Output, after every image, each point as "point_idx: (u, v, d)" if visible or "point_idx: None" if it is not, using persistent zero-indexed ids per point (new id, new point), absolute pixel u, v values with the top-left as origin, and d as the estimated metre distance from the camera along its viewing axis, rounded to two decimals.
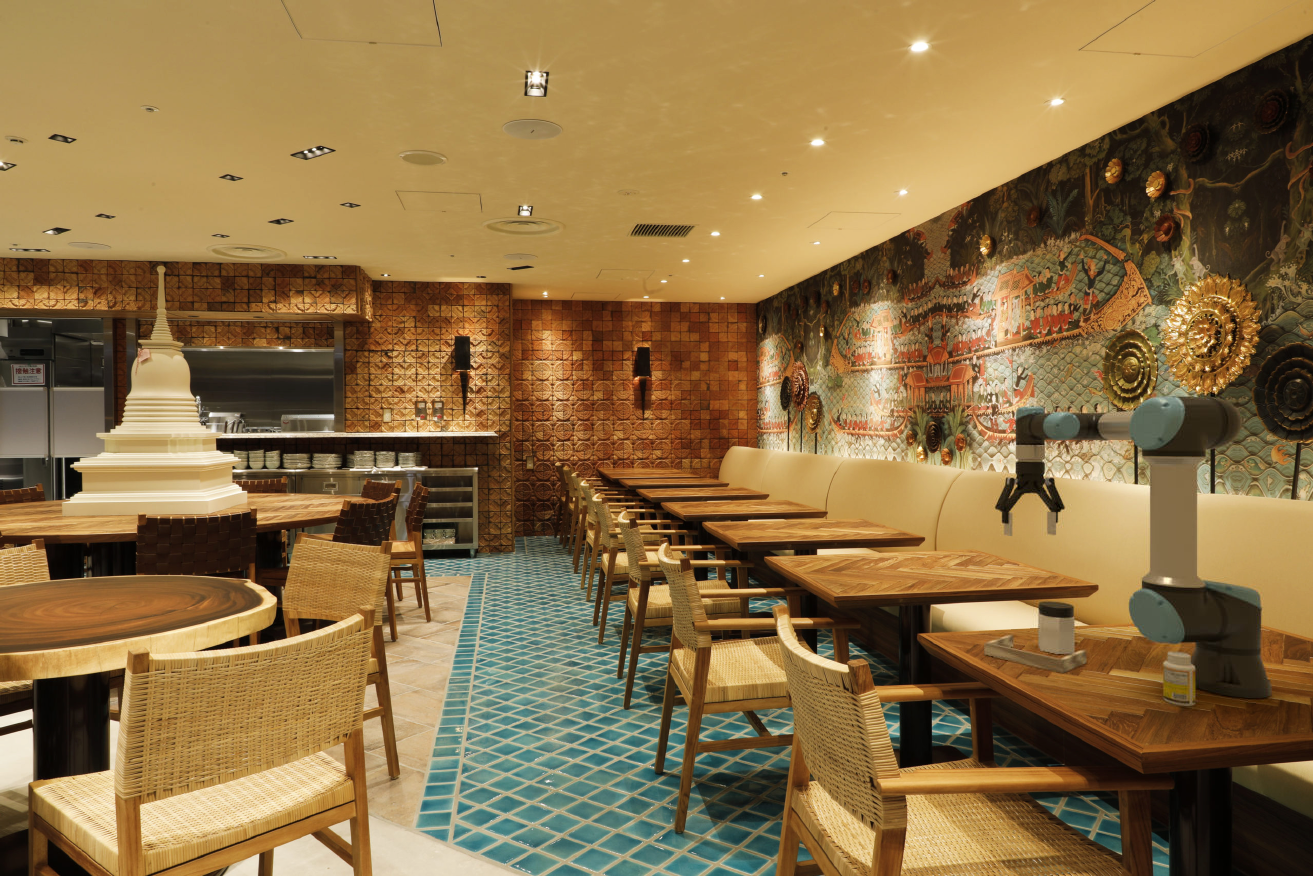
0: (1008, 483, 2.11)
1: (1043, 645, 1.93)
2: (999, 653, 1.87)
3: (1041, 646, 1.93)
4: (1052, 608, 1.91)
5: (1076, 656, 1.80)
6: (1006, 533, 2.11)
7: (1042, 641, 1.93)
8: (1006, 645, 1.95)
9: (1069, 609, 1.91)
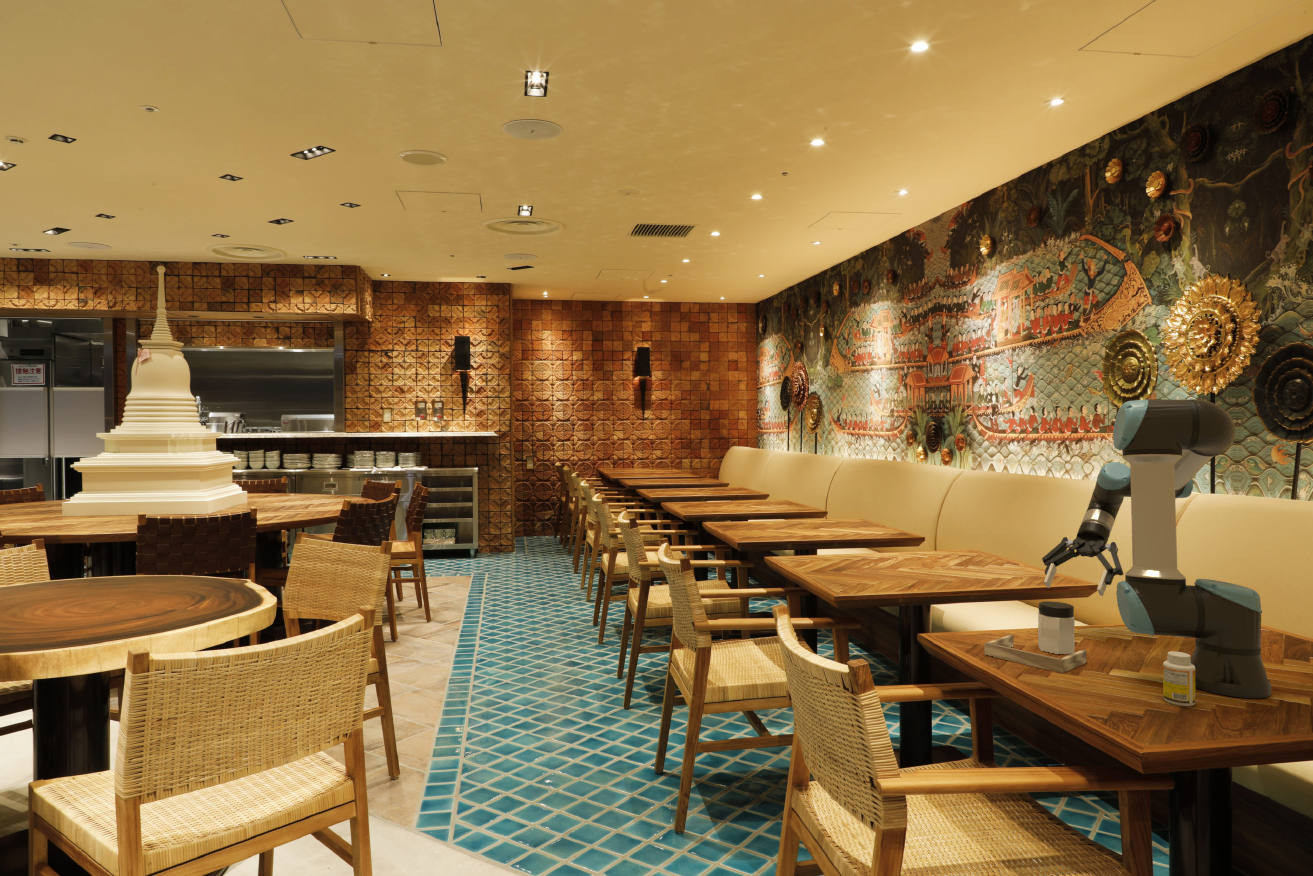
0: None
1: (1043, 645, 1.93)
2: (999, 653, 1.87)
3: (1041, 646, 1.93)
4: (1052, 608, 1.91)
5: (1076, 656, 1.80)
6: None
7: (1042, 641, 1.93)
8: (1006, 645, 1.95)
9: (1069, 609, 1.91)
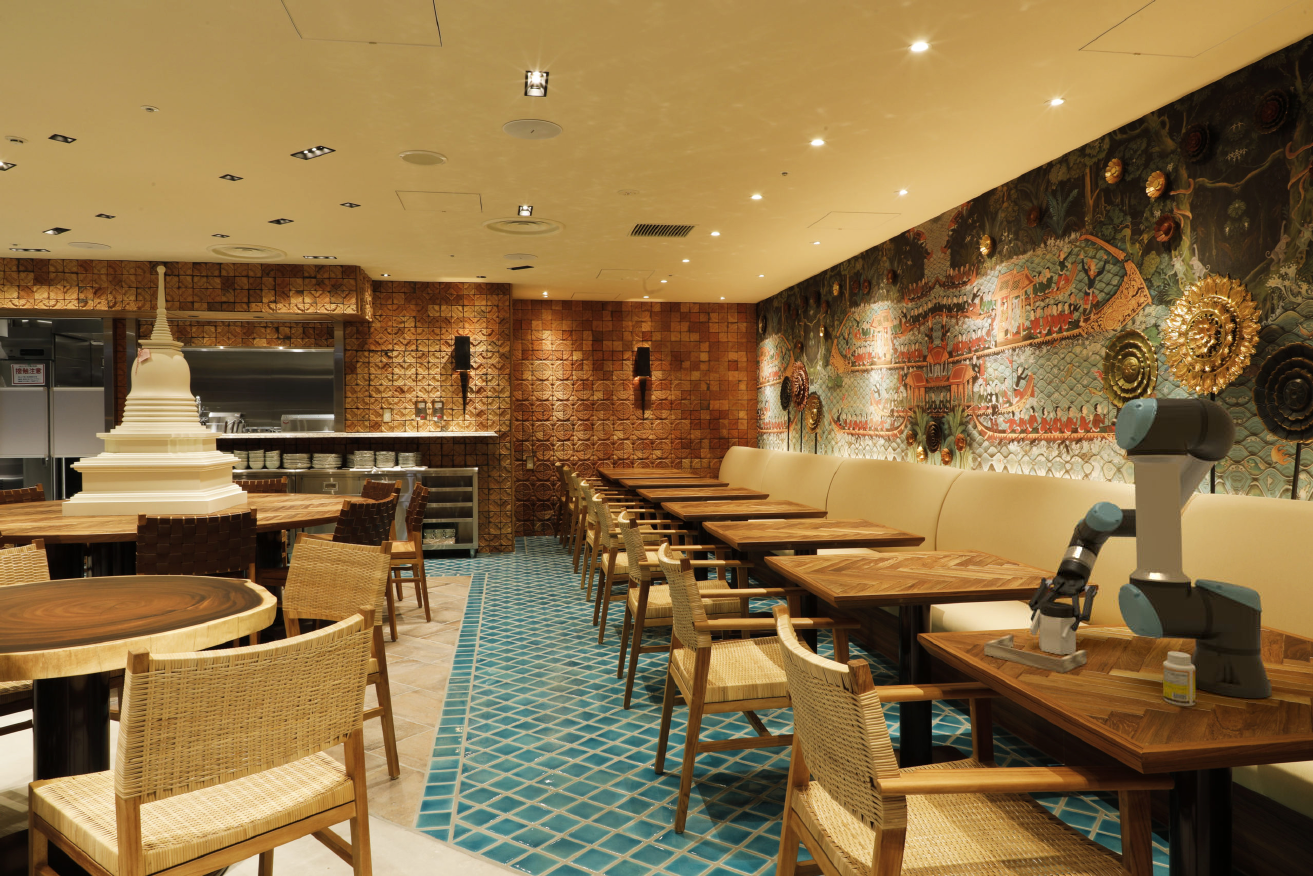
0: None
1: (1044, 645, 1.93)
2: (999, 653, 1.87)
3: (1042, 646, 1.93)
4: (1053, 608, 1.91)
5: (1076, 656, 1.80)
6: None
7: (1043, 641, 1.93)
8: (1006, 645, 1.95)
9: (1070, 609, 1.90)
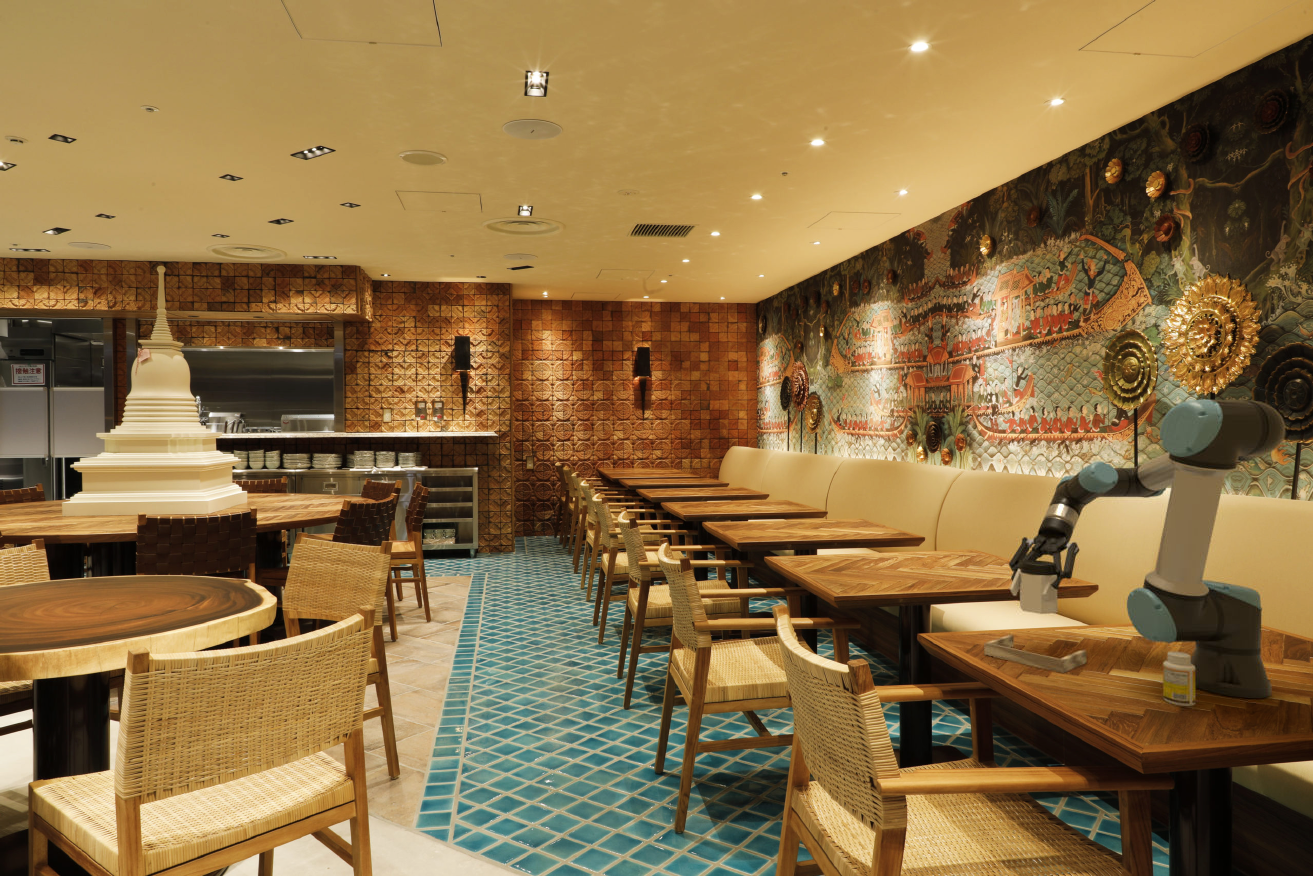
0: None
1: (1025, 604, 1.85)
2: (999, 653, 1.87)
3: (1023, 606, 1.86)
4: (1034, 565, 1.84)
5: (1076, 656, 1.80)
6: None
7: (1024, 600, 1.85)
8: (1006, 645, 1.95)
9: (1051, 566, 1.83)
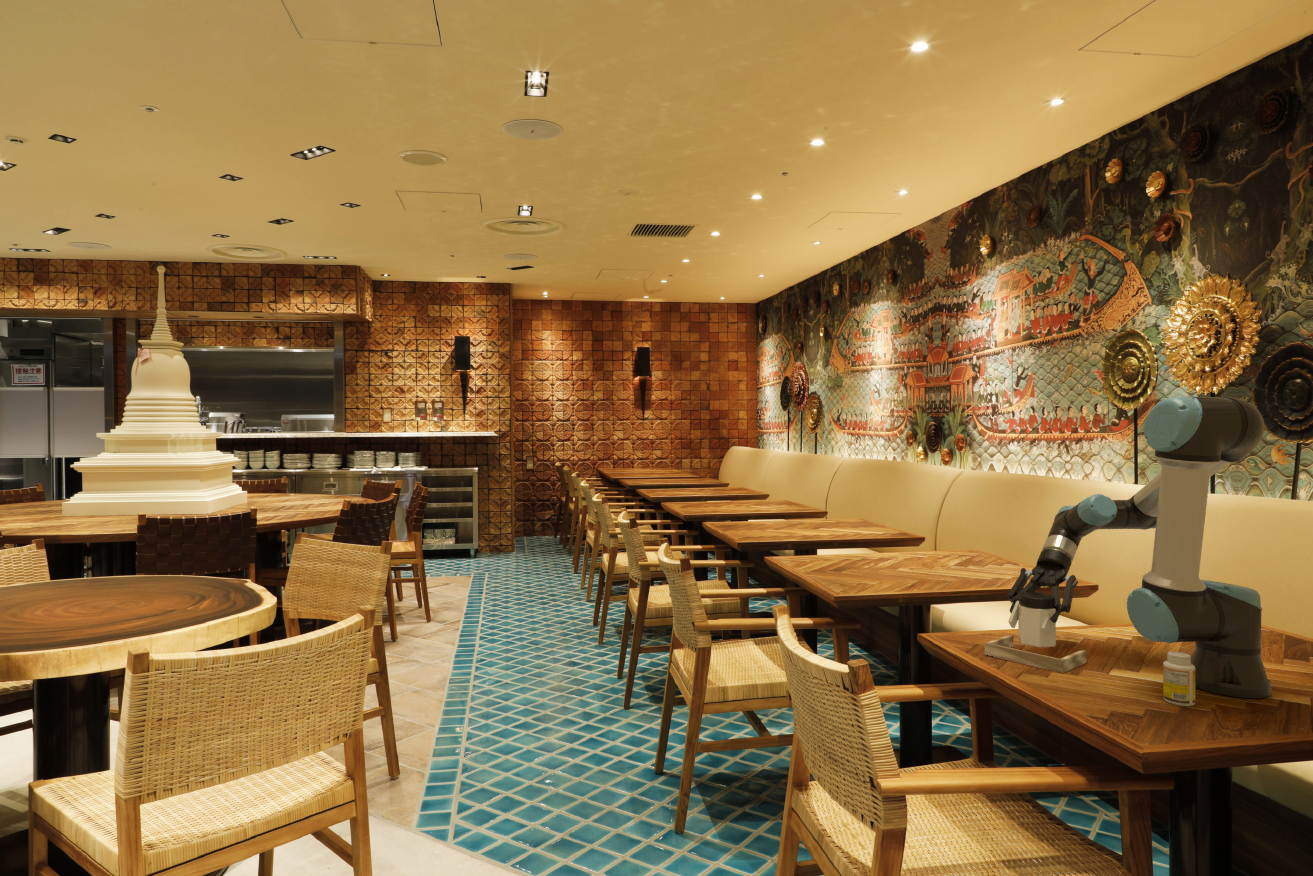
0: None
1: (1023, 638, 1.85)
2: (999, 653, 1.87)
3: (1021, 639, 1.86)
4: (1033, 599, 1.84)
5: (1076, 656, 1.80)
6: None
7: (1022, 633, 1.86)
8: (1006, 645, 1.95)
9: (1050, 600, 1.83)
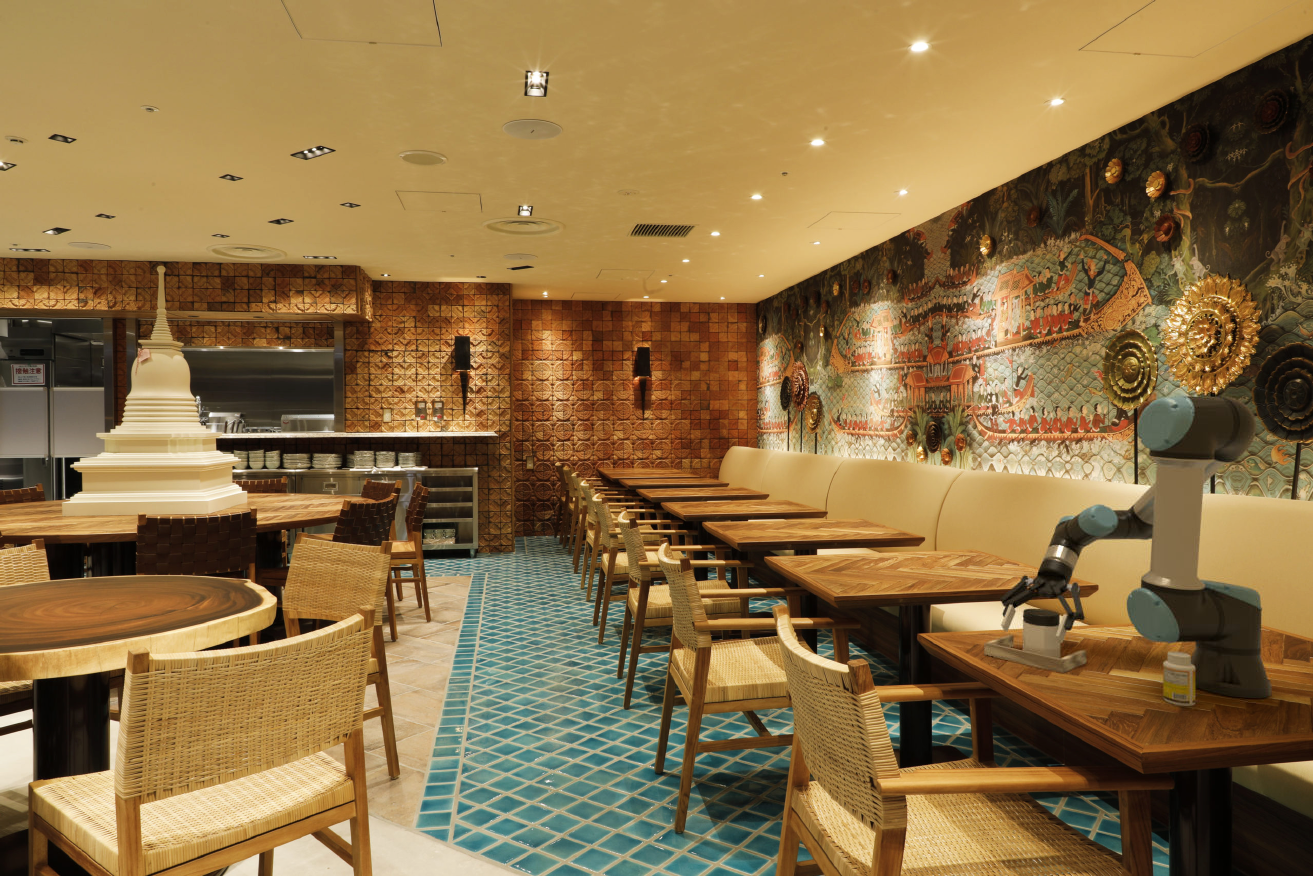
0: None
1: None
2: (999, 653, 1.87)
3: None
4: (1037, 616, 1.83)
5: (1076, 656, 1.80)
6: None
7: (1027, 650, 1.85)
8: (1006, 645, 1.95)
9: (1054, 617, 1.82)
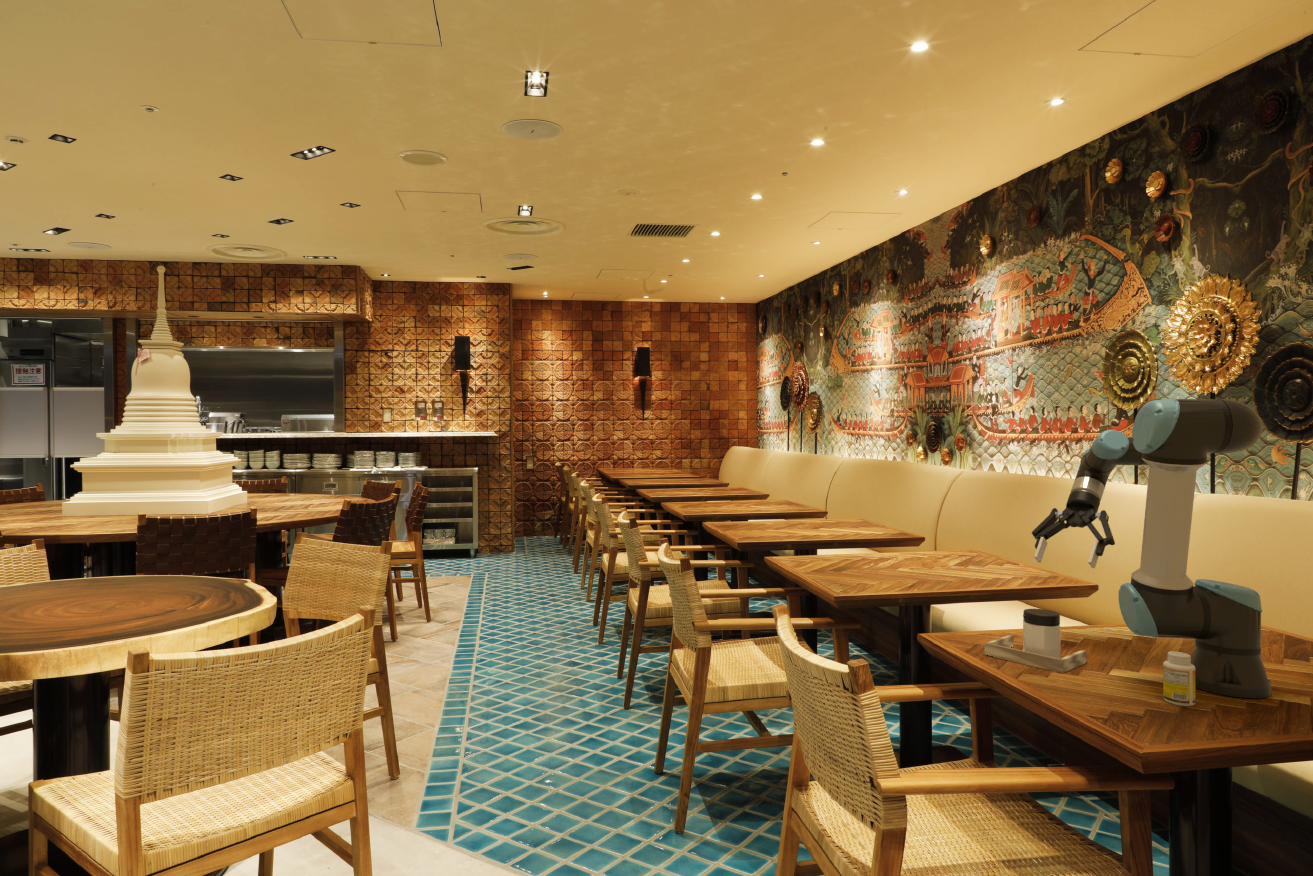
0: None
1: None
2: (999, 653, 1.87)
3: None
4: (1037, 616, 1.83)
5: (1076, 656, 1.80)
6: None
7: (1027, 650, 1.85)
8: (1006, 645, 1.95)
9: (1055, 617, 1.82)
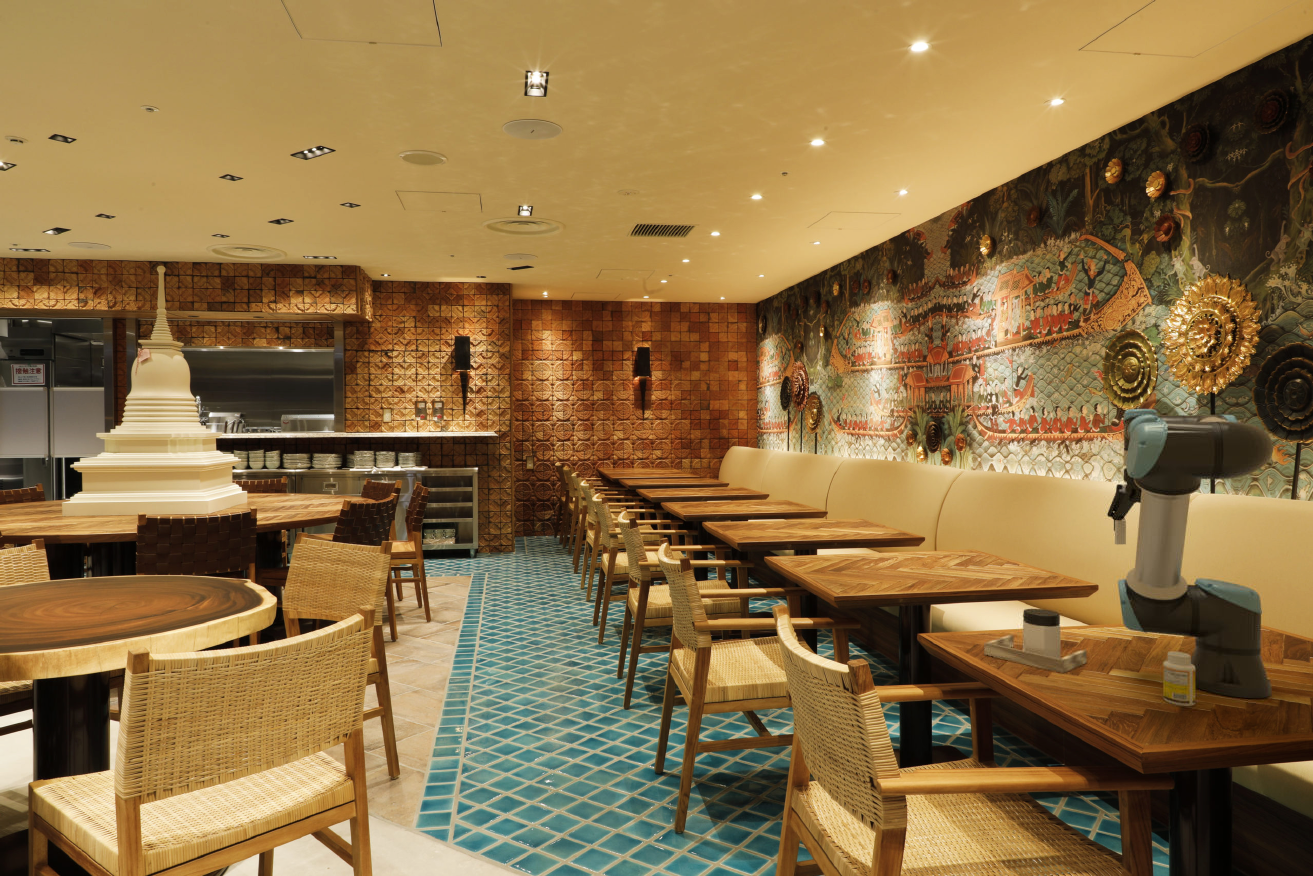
0: None
1: None
2: (999, 653, 1.87)
3: None
4: (1037, 616, 1.83)
5: (1076, 656, 1.80)
6: None
7: (1027, 650, 1.85)
8: (1006, 645, 1.95)
9: (1055, 617, 1.82)
